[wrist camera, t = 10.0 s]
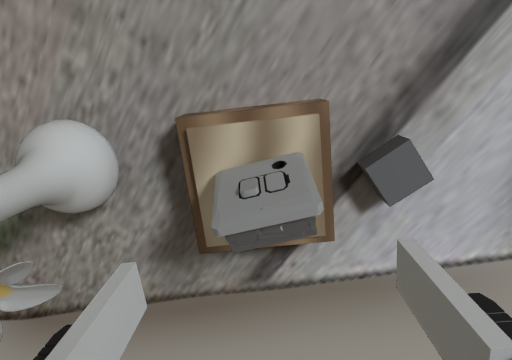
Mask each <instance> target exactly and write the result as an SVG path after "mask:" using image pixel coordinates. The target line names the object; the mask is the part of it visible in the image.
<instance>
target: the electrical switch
mask: <svg viewBox="0 0 512 360" xmlns="http://www.w3.org/2000/svg"><path fill="white" fill-rule="evenodd" d="M323 210H324V207H323V203H322V200H321V197H320V195H319V192H318V190H317V187H316V185H315V182H314V180H313V177H312V175H311V172H310V169H309V167H308V164H307V162H306V159H305V157H304V154H303V153H300V152H295V153H291V154H287V155H283V156H279V157H275V158H271V159H267V160H262V161H258V162H254V163H250V164H246V165H242V166H238V167H234V168H230V169H225V170H221V171H219V172H218V173H217V174H216V176H215V188H214V199H213V210H212V221H211V227H212V230H213V233H214V235H215V236H216V237H217V238H218V237H222V236H225V238H226V240H227V242H228V243H229V244H230V247H231V249H232V252H233V253H238V252H242V251H247V250H251V249H256V248H260V247H265V246H269V245H274V244H278V243H283V242H287V241H292V240H296V239H301V238H305V237H310V236H314V235H317V228H316V218H315V216H317V215H320V214H321V212H322V211H323ZM281 226H282V229H283V231H282V230H281V229H280V228H281ZM253 230H254V231H253ZM260 232H261V233H262V235H261V233H260ZM303 233H304V234H303ZM236 243H237V244H238V245H237V244H236ZM249 246H250V247H249Z"/></svg>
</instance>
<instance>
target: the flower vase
mask: <svg viewBox="0 0 512 360" xmlns="http://www.w3.org/2000/svg"><path fill="white" fill-rule="evenodd" d="M118 178H119V165H118V159H117V157H116V154H115V152H114V149H113V148H112V146H111V145H110V143H109V142H108V140H107V139H106V138H105V137H104V136H103V135H101V134H100V133H99V132H98V131H97V130H95V129H94V128H92V127H90V126H88V125H87V124H85V123H81V122H78V121H74V120H66V119H56V120H52V121H48V122H44V123H42V124H40V125H39V126H37V127H36V128H34V129H32V130H31V131H29V132H28V133H27V135H26V136H25V137H24V138H23V139H22V141H21V142H20V145H19V147H18V150H17V152H16V157H15V166H14V167H13V168H12V169H10V170H8V171H6V172H4V173H1V174H0V222H2V221H4V220H6V219H9V218H11V217H13V216H15V215H17V214H19V213H21V212H23V211H26V210H28V209H30V208H33V207H35V206H39V205H42V206H44V207H46V208H48V209H50V210H54V211H58V212H62V213H80V212H84V211H89V210H92V209H94V208H96V207H98V206H100V205H102V204H103V203H104V202H105V201H106V200H107V199H108V198H109V197H110V196H111V195H112V194H113V192H114V190H115V188H116V186H117V184H118ZM33 265H34V264H33V262H30V261H28V262H20V263H17V264H14V265H11V266H8V267H6V268H3V269H1V270H0V310H1V311H5V312H11V311H19V310H24V309H27V308H31V307H34V306H36V305H39V304H41V303H43V302H46V301H48V300H49V299H51V298H53V297H54V296H56V295H57V294H58V293H60V292H61V290H62V288H63V287H62V286H61V285H59V284H16V283H18V282H20V281H21V280H23V279H24V278H25V277H27V276H28V275H29V273H30V272H31V271H32V269H33ZM2 334H3V327H2V324H1V321H0V341H1V338H2Z"/></svg>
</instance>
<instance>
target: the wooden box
mask: <svg viewBox="0 0 512 360" xmlns="http://www.w3.org/2000/svg"><path fill="white" fill-rule="evenodd" d="M175 121H176V127H177V132H178V138H179V143H180V149H181V154H182V159H183V165H184V170H185V176H186V181H187V187H188V192H189V198H190V203H191V209H192V214H193V219H194V225H195V230H196V236H197V241H198V247H199V252H200V254H201V253H211V252H222V251H232V249H231V247H230V244H229V243H228V242H227V240H226V238H225V236H222V237H218V238H217V237H216V236H215V235H214V233H213V230H212V227H211V221H212V210H213V199H214V188H215V176H216V174H217V173H218V172H219V171H221V170H225V169H230V168H234V167H238V166H242V165H246V164H250V163H254V162H258V161H262V160H267V159H271V158H275V157H279V156H283V155H287V154H291V153H295V152H300V153H303V154H304V157H305V159H306V162H307V164H308V167H309V169H310V172H311V175H312V177H313V180H314V182H315V185H316V187H317V190H318V192H319V195H320V197H321V200H322V203H323V207H324V210H323V211H322V212H321V214H320V215H317V216H315V218H316V228H317V235H314V236H310V237H305V238H301V239H296V240H292V241H287V242H283V243H278V244H274V245H269V246H265V247H275V246H285V245H296V244H306V243H317V242H327V241H335V238H334V214H333V191H332V167H331V144H330V120H329V101H327V100H323V99H315V100H306V101H297V102H288V103H279V104H270V105H262V106H253V107H244V108H235V109H226V110H217V111H209V112H200V113H191V114H184V115H182V116H179V117H177V118H175ZM280 229H281V230H282V231H283V229H282V226H281V228H280ZM253 231H254V230H253ZM260 233H261V232H260ZM303 234H304V233H303ZM261 235H262V233H261ZM236 244H237V243H236ZM237 245H238V244H237ZM249 247H250V246H249ZM260 248H264V247H260Z"/></svg>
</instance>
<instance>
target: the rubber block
mask: <svg viewBox="0 0 512 360" xmlns="http://www.w3.org/2000/svg"><path fill="white" fill-rule="evenodd" d="M357 163H358V165H359V166H360V168H361V169H362V171H363V172H364V174H365V175H366V177H367V178H368V180H369V181H370V183H371V184H372V186H373V187H374V189H375V190H376V192H377V193H378V195H379V196H380V198H381V199H382V200H383V201H384V202H386V203H387V204H388V205H389V206H390V207H391V206H392V205H394V204H395V203H397V202H399V201H400V200H402V199H403V198H405V197H407V196H408V195H410V194H411V193H413V192H415V191H416V190H418V189H419V188H421V187H423V186H424V185H426V184H428V183H429V182H431V181H432V180H434V178H433V177H432V175H431V173H430V172H429V170H428V168H427V167H426V165H425V163H424V162H423V160H422V159H421V157H420V155H419V154H418V152H417V150H416V149H415V147H414V145H413V144H412V142H411V140H410V139H408V138H405V137H402V136H399V135H397V136H396V137H394V138H393V139H391V140H390V141H388V142H387V143H385V144H384V145H382V146H381V147H379V148H378V149H376V150H375V151H373V152H372V153H370V154H369V155H367V156H366V157H364V158H363V159H361V160H360V161H358V162H357Z"/></svg>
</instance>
